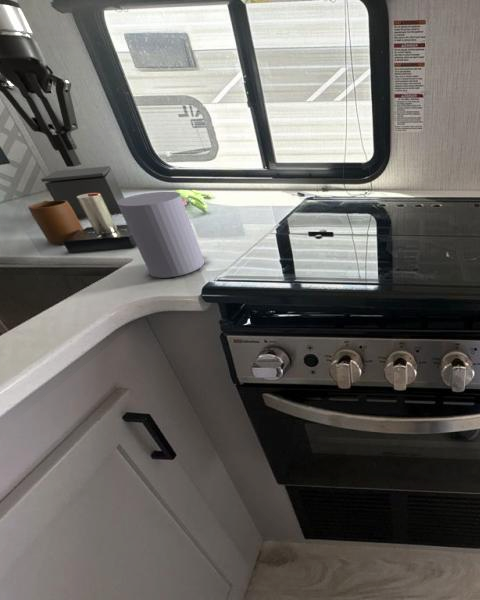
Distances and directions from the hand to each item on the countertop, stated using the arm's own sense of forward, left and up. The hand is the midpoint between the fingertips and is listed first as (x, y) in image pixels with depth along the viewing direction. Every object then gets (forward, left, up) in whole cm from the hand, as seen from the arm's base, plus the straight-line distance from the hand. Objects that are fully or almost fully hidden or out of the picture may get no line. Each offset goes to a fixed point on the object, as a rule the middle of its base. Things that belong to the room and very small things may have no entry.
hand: (74, 165), depth 76 cm
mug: (-13, +5, -19) cm, 23 cm away
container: (+23, -22, -19) cm, 37 cm away
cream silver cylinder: (+1, -2, -15) cm, 15 cm away
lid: (-19, +32, -7) cm, 38 cm away
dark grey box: (-19, +32, -18) cm, 42 cm away
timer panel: (+1, -2, -18) cm, 19 cm away
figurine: (+8, +27, -19) cm, 34 cm away
